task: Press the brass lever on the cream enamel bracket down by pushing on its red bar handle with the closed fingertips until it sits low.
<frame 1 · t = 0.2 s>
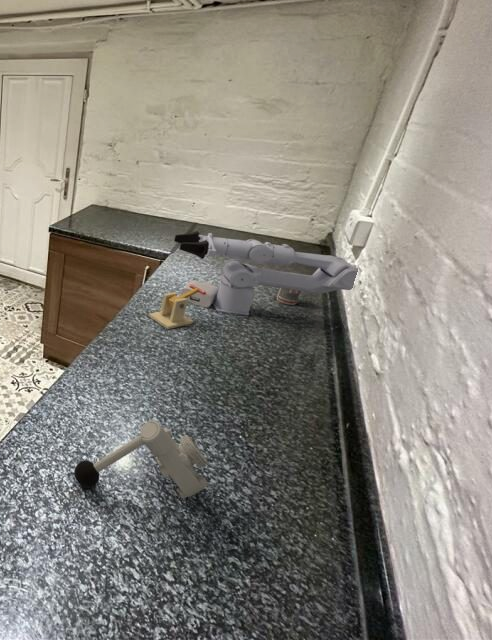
hand: (177, 242, 127), 21 cm above the counter, tool horizontal, fingers open, 7 cm apart
bracket: (170, 320, 122), on the counter
pill bottle: (285, 301, 137), on the counter
valve: (136, 484, 70), on the counter
lever: (185, 296, 121), point 8 cm above the counter, hinge at 18.0°
charger: (200, 297, 138), on the counter, touching arm
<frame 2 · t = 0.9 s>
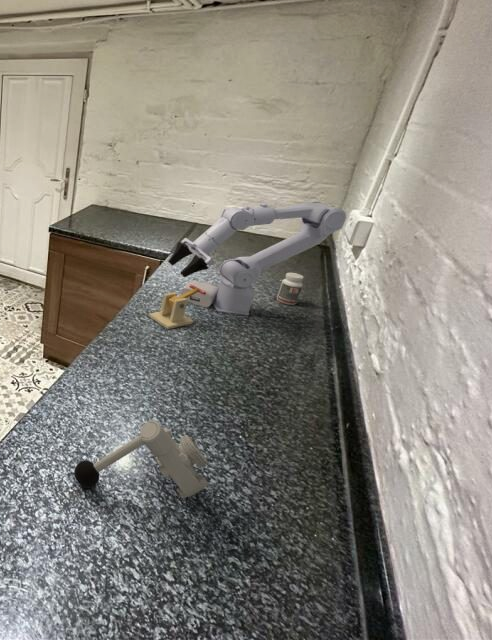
hand: (176, 269, 127), 13 cm above the counter, tool tilted 40°, fingers open, 7 cm apart
nothing on the counter moved.
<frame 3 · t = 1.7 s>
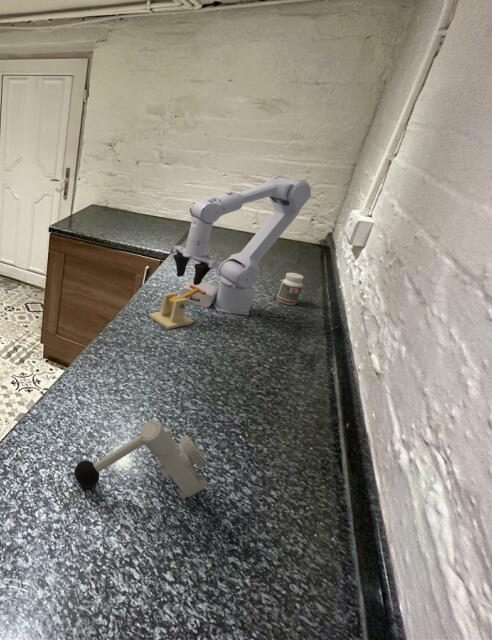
hand: (188, 280, 126), 10 cm above the counter, tool pointing down, fingers open, 6 cm apart
nothing on the counter moved.
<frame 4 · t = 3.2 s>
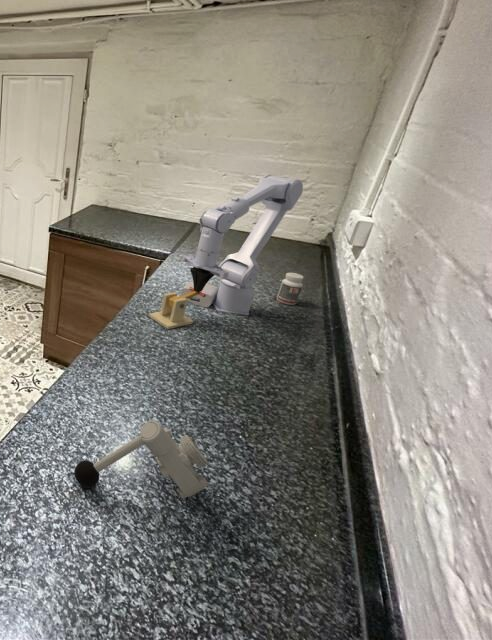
hand: (197, 290, 122), 9 cm above the counter, tool pointing down, fingers closed, pressing on lever
lever: (185, 297, 121), point 7 cm above the counter, hinge at 12.1°, touching gripper
everything else where it was.
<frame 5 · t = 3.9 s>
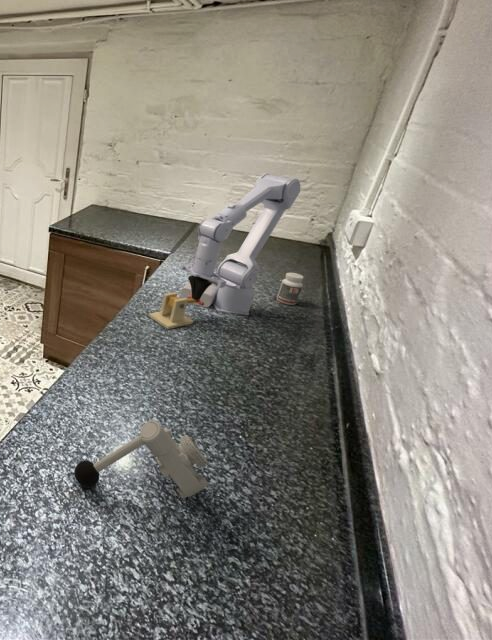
hand: (195, 298, 123), 6 cm above the counter, tool pointing down, fingers closed, pressing on lever
lever: (184, 301, 122), point 6 cm above the counter, hinge at -6.5°, touching gripper
everything else where it was.
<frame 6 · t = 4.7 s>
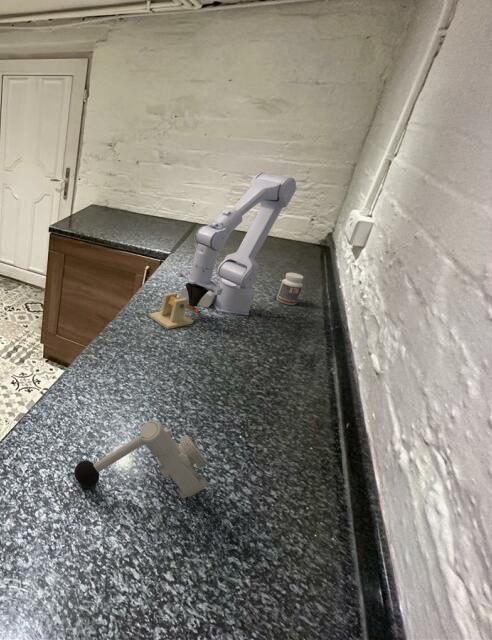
hand: (192, 305, 124), 4 cm above the counter, tool pointing down, fingers closed, pressing on lever
lever: (182, 304, 122), point 5 cm above the counter, hinge at -24.1°, touching gripper
everything else where it was.
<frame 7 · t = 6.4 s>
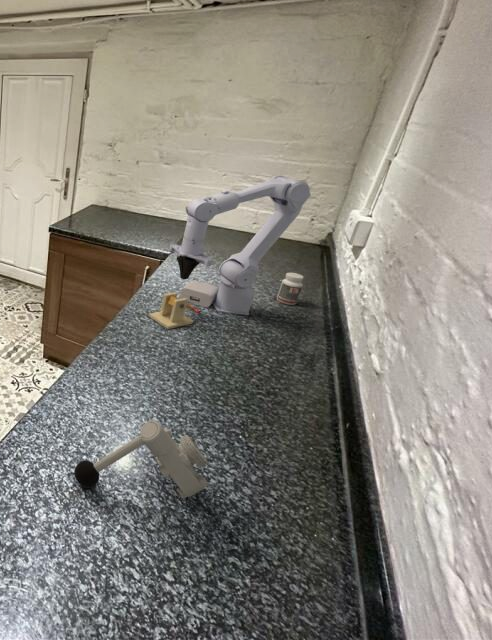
hand: (184, 278, 127), 10 cm above the counter, tool pointing down, fingers closed
lever: (182, 304, 122), point 5 cm above the counter, hinge at -24.1°
everything else where it was.
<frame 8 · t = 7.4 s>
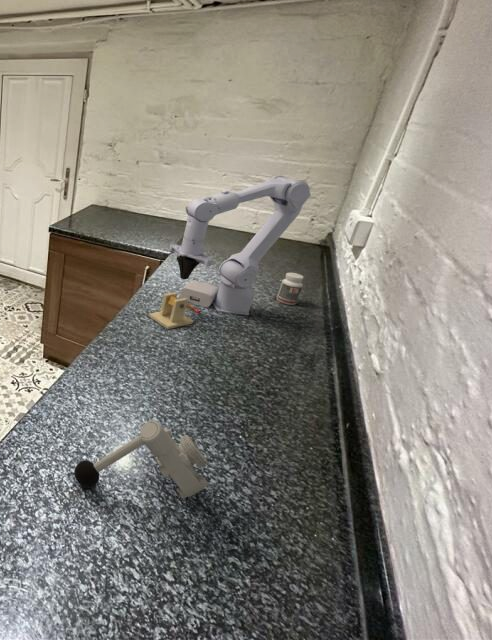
hand: (184, 278, 127), 10 cm above the counter, tool pointing down, fingers closed
nothing on the counter moved.
at the end: lever at -24° (first picture: +18°) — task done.
